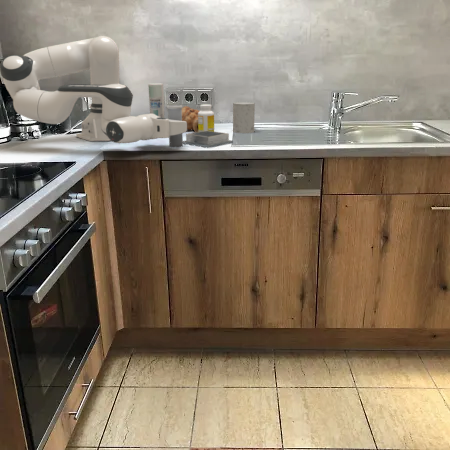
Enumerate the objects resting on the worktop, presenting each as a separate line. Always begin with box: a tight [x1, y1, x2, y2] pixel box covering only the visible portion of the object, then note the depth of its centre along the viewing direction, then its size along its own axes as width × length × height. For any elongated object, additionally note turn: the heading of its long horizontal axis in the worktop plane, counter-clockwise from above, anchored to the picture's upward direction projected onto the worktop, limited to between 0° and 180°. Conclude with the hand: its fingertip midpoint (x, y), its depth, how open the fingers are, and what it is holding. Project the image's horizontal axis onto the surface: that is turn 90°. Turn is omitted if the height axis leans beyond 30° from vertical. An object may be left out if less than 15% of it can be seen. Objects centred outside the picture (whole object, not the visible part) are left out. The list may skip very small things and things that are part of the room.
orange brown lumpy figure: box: [182, 105, 200, 133], centre depth 219 cm, size 19×11×15 cm
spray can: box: [147, 83, 165, 118], centre depth 223 cm, size 6×6×20 cm
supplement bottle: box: [198, 103, 215, 132], centre depth 206 cm, size 7×7×13 cm
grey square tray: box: [183, 130, 234, 149], centre depth 192 cm, size 14×14×4 cm
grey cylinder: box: [232, 101, 256, 134], centre depth 219 cm, size 10×10×12 cm
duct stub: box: [166, 103, 184, 148], centre depth 185 cm, size 5×5×15 cm
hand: (178, 122), depth 186 cm, fingers closed on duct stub, 5 cm apart
